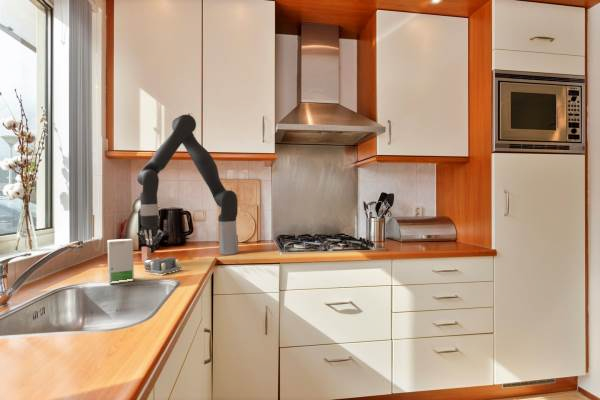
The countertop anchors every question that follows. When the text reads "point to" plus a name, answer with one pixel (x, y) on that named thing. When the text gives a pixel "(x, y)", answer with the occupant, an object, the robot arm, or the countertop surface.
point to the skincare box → (120, 259)
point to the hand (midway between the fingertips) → (151, 252)
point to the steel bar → (168, 261)
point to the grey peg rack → (147, 256)
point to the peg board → (164, 268)
